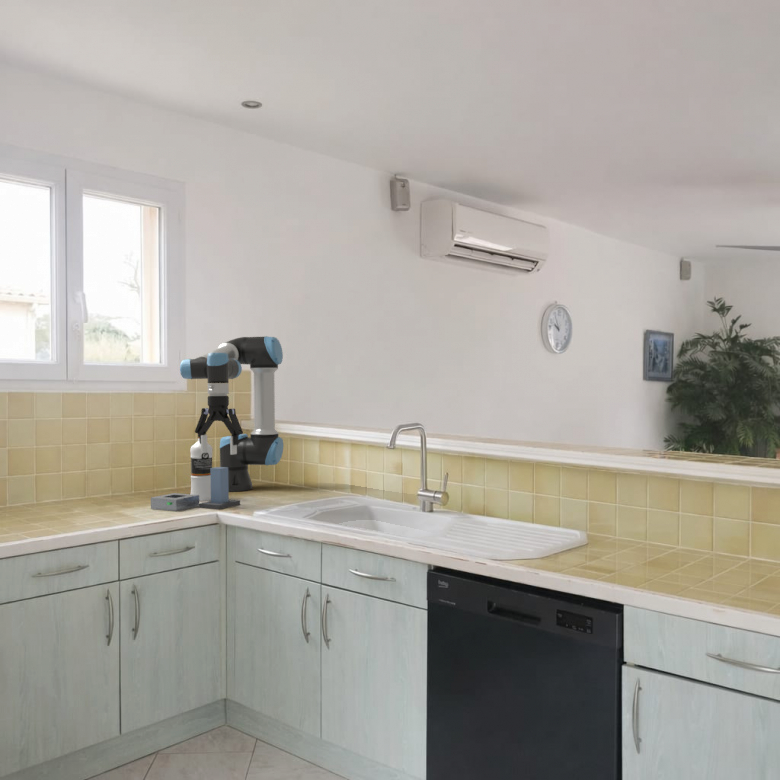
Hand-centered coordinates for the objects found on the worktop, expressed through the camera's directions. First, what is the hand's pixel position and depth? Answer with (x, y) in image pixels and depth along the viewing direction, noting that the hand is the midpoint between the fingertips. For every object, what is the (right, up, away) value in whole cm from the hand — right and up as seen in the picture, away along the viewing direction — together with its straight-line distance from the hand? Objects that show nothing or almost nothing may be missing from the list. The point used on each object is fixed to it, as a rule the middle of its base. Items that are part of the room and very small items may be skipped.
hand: (218, 453), depth 292 cm
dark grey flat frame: (0, -20, +1) cm, 20 cm away
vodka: (-10, -20, +17) cm, 28 cm away
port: (-15, -20, -1) cm, 26 cm away
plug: (0, -19, +1) cm, 19 cm away
